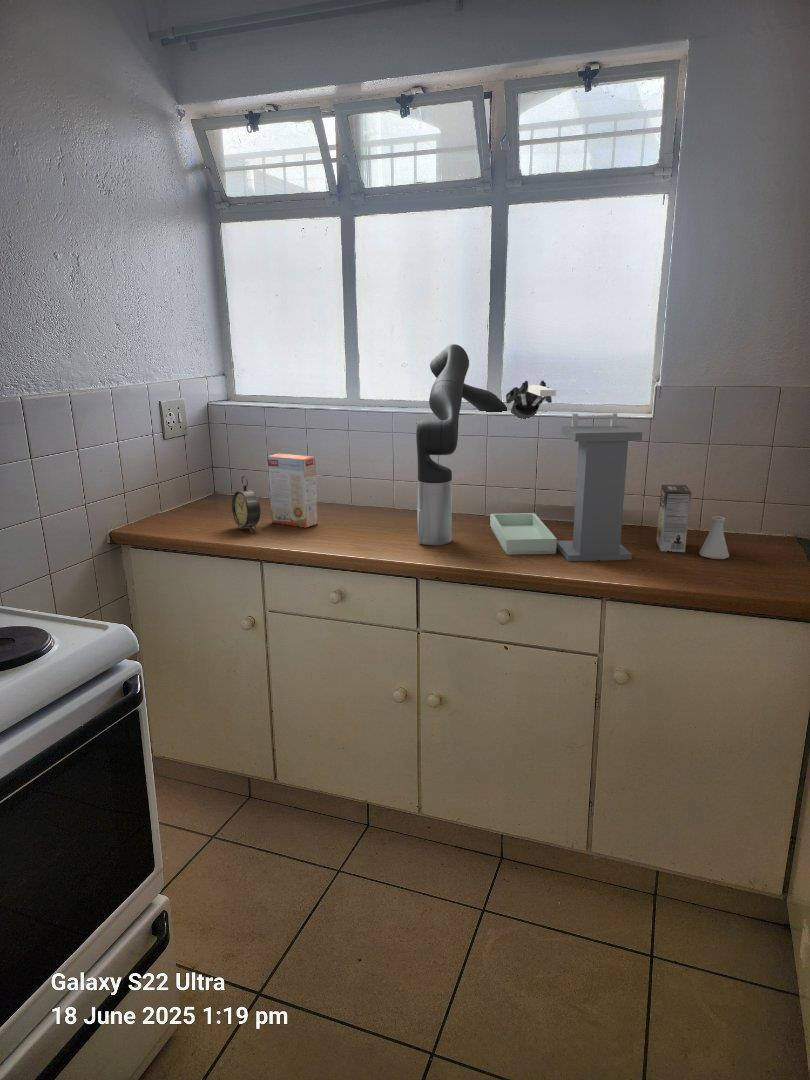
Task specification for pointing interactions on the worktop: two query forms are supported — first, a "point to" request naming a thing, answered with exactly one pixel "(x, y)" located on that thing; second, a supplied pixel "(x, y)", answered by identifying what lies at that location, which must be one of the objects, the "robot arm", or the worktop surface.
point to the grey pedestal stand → (598, 489)
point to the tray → (522, 534)
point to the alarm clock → (245, 508)
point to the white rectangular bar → (541, 390)
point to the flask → (715, 541)
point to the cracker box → (293, 489)
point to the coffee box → (673, 517)
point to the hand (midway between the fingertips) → (534, 383)
